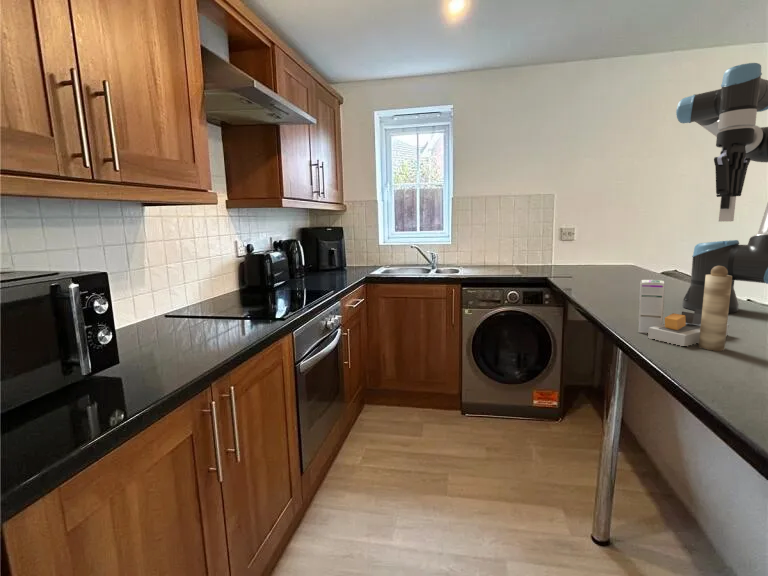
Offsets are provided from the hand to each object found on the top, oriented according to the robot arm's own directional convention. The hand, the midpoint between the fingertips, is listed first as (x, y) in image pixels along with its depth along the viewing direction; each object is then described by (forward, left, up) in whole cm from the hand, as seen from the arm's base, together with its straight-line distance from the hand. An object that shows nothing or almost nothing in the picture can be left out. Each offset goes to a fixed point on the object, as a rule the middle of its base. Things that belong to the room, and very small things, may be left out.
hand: (725, 221), depth 112 cm
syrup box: (+16, -9, -31) cm, 35 cm away
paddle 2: (+7, 0, -27) cm, 28 cm away
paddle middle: (+13, 0, -27) cm, 30 cm away
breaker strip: (+13, 0, -30) cm, 33 cm away
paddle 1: (+19, 0, -27) cm, 33 cm away
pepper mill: (+18, +8, -30) cm, 36 cm away
